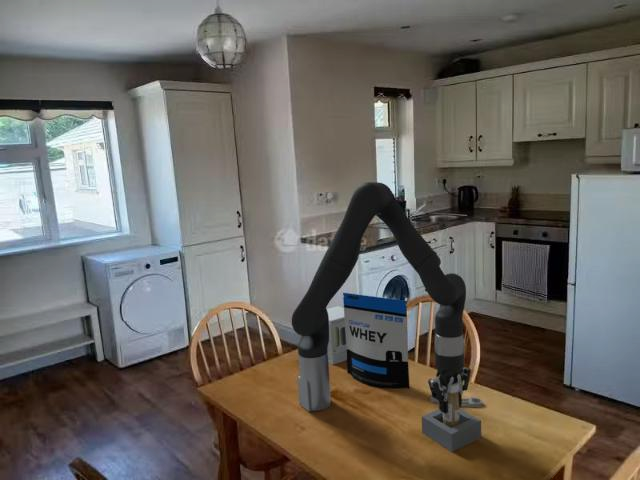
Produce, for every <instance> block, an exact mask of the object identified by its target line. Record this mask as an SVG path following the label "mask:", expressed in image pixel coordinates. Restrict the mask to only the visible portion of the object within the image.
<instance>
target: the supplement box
mask: <svg viewBox="0 0 640 480" xmlns="http://www.w3.org/2000/svg"><path fill="white" fill-rule="evenodd" d="M326 309H327V312H328V317H329V343H328V364H331V365H332V366H334V365H337V364H339V363H342V362H345V361H346V362H347V347H346V333H345V319H344V307H342V306H339V305H337V306H334V307H330V308H326Z"/></svg>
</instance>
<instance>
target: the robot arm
mask: <svg viewBox="0 0 640 480" xmlns="http://www.w3.org/2000/svg"><path fill="white" fill-rule="evenodd" d="M375 216H376V217H377V218H379V219H380V220H381V221H382V223H384V224H385V225H386V226H387V227H388V229H389V230H390V232H391V234H392V235H393V237H394V240H395V242H396V244H397V247H398V249H399V250H400V252H401V253H402V255H403V257H404V258H405V259H406V261H407V262H408V263H409V264H410V266H411V267H412V268H413V269H414V271H415V272H416V273H417V274H418V276H419V278H420V281H421V283H422V284H423V287H424V288H425V290H426V293H427V294H428V295H429V298H431V299H432V300H433V302H435V303H436V304H438V305H439V309H438V311H437V312H436V313H435V316H434V329H435V334H434V365H435V367H436V369H437V371H436V377H434V378H433V379H432V378H430V379H429V378H428V382H427V384H428V386H429V390H430V393H431V394H432V397H433V398H435V399H437V400H438V401H439V403H438V409H440V411H441V412H443V413H444V414H446V413H448V401H447V398H448V393H450V391H451V386H452V385H453V384H455V383H458V384H459V392H458V393H459V409H460V408H462V407H461V404H463V403H462V399H463V393H464V391H467V390H468V388H469V383H470V378H471V373H472V370H471V369H470V368H468V367H466V366H465V339H464V333H463V331H464V325H463V324H464V323H463V322H464V321H463V316H464V311H465V304H466V300H467V299H466V298H467V288H466V283H465V281H464V278H462V277H461V276H460V275H459V274H458V273H453V272H452V273H447V274H445V273H444V271H443V270H442V268H441V267H440V266H441V264H442V261H441V260H442V259H441V258H440V257H439V255H438V254H437V253H436V252H435V250H434V249H433V248H432V246H431V245H430V244H429V243H428V242H427V241H426V240H425V239H424V237H423V236H422V235H421V234H420V233H419V230H417V228H416V227H415V226H414V225H413V223H412V221H411V220H410V219H409V217H408V215H407V214H406V212H405V211H404V210H403V208H402V207H401V205H400V203H399V201H398V199H397V197H396V196H395V194H394V193H393V191H392V190H391V188H390V187H389V186H388V185H387V184H385V183H382V182H378V181H377V182H376V181H372V182H371V181H368V182H367V181H366V182H363V183H361V184H360V185H358V186H357V188H356V189H355V190H354V192H353V194H352V196H351V198H350V201H349V203H348V206H347V209H346V211H345V214H344V217H343V218H342V221H341V223H340V225H339V227H338V229H337V230H336V232H335V235H334V236H333V238H332V240H331V242H330V244H329V246H328V248H327V249H326V252H325V253H324V255H323V257H322V259H321V261H320V264H319V266H318V268H317V270H316V272H315V274H314V277H312V280H311V283H310V285H309V288H308V290H307V291H306V292H305V294H304V296H303V297H302V299H301V301H300V302H299V304H298V305H297V306H296V308H295V309H294V311H293V313H292V315H291V326H292V328H293V331H294V332H295V333H296V334H297V335H299V336H301V337H300V339H299V342H298V344H297V355H298V356H297V357H298V367H299V368H298V369H299V371H298V372H299V375H298V376H297V390H298V391H297V392H298V401H299V403H298V404H299V405H300V406H301V407H302V408H303V409H305V410H306V411H307V412H308V413H309V412H318V411H323V410H326V409H328V408H329V407H330V406H331V404H332V401H331V400H332V398H331V397H332V396H331V383H330V366H329V364H330V363H328V343H329V317H328V312H327V309H328V308H327V306H329V304H330V302H331V300H332V299H333V298H334V297H335V295H336V294H337V293H338V292H339V290H340V289H341V288H342V287H343V286H344V284H345V283H346V282H347V281H348V279H349V277H350V275H351V273H352V271H353V270H354V268H355V266H356V264H357V262H358V259H359V256H360V252H361V245H362V239H363V237H364V234H365V232H366V230H367V229H368V227H369V225H370V224H371V222H372V220H373V219H374V218H375ZM442 385H443V386H445V387H446V389H445V388H443V387H442ZM443 392H444V395H442V393H443Z"/></svg>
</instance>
